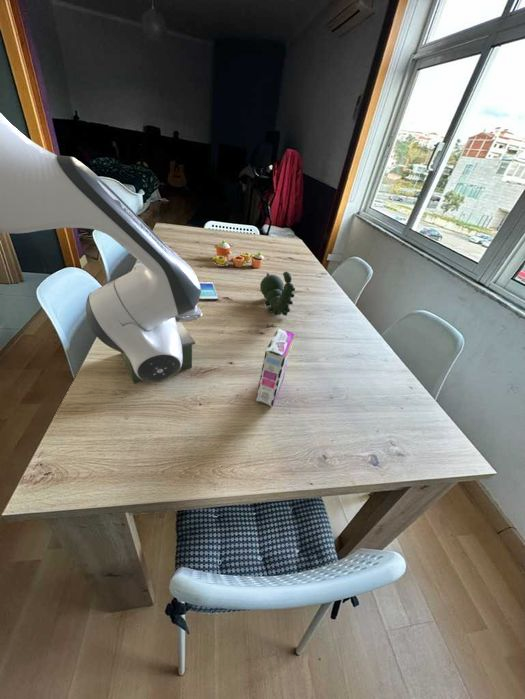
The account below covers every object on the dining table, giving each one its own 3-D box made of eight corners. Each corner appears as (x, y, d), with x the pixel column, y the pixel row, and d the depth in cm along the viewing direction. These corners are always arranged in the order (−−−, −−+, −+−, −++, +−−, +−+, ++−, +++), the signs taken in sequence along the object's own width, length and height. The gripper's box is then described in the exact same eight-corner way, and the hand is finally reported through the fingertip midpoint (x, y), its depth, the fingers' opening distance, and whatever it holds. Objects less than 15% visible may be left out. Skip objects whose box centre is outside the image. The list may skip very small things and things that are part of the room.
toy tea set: (212, 267, 142) (213, 247, 136) (211, 255, 154) (211, 237, 148) (264, 270, 148) (267, 251, 142) (259, 259, 160) (261, 241, 154)
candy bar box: (273, 407, 74) (285, 357, 64) (255, 401, 75) (264, 350, 65) (284, 380, 83) (296, 332, 73) (267, 375, 84) (277, 327, 74)
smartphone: (199, 298, 113) (195, 281, 124) (199, 300, 113) (195, 283, 124) (218, 298, 115) (212, 282, 126) (218, 300, 115) (212, 283, 127)
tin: (175, 341, 90) (174, 319, 86) (192, 367, 82) (192, 344, 77) (120, 353, 83) (116, 330, 78) (133, 383, 74) (129, 359, 69)
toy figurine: (293, 325, 111) (274, 290, 129) (305, 281, 99) (283, 249, 116) (269, 326, 109) (253, 290, 126) (279, 280, 96) (260, 248, 114)
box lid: (177, 319, 86) (177, 316, 86) (195, 344, 78) (195, 341, 77) (116, 329, 78) (116, 327, 77) (129, 359, 69) (129, 356, 69)
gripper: (204, 305, 62) (193, 278, 72) (95, 311, 55) (100, 280, 65) (203, 330, 66) (193, 301, 76) (101, 338, 59) (105, 305, 69)
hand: (149, 291), depth 71 cm, fingers closed on beverage can, 5 cm apart
